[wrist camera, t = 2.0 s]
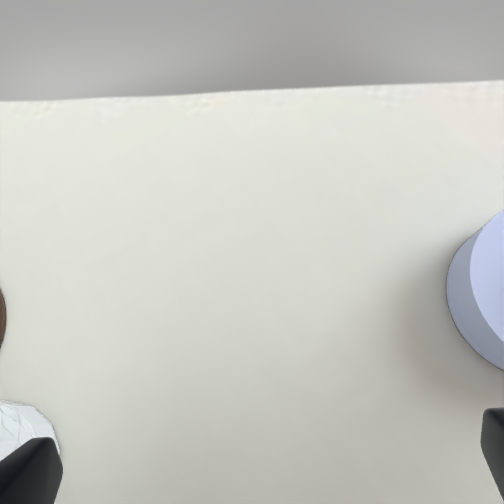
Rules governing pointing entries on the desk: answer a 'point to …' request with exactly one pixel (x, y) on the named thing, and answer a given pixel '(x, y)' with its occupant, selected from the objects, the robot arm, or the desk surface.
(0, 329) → the coaster
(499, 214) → the wedge on round base
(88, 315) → the desk surface
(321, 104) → the desk surface
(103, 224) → the desk surface
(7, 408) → the white cup
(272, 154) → the desk surface
